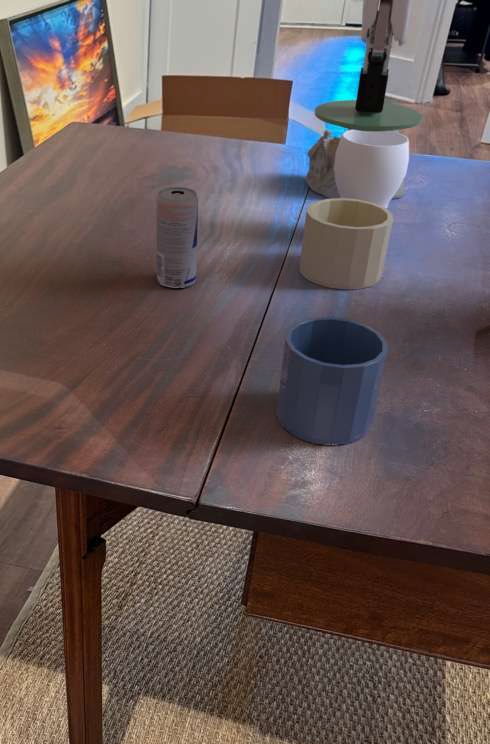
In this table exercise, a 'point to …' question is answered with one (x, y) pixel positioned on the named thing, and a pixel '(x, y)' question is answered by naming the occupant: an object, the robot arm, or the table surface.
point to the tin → (345, 243)
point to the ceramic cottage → (329, 167)
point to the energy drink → (177, 236)
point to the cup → (371, 165)
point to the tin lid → (368, 116)
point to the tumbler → (330, 379)
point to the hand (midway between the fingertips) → (369, 106)
